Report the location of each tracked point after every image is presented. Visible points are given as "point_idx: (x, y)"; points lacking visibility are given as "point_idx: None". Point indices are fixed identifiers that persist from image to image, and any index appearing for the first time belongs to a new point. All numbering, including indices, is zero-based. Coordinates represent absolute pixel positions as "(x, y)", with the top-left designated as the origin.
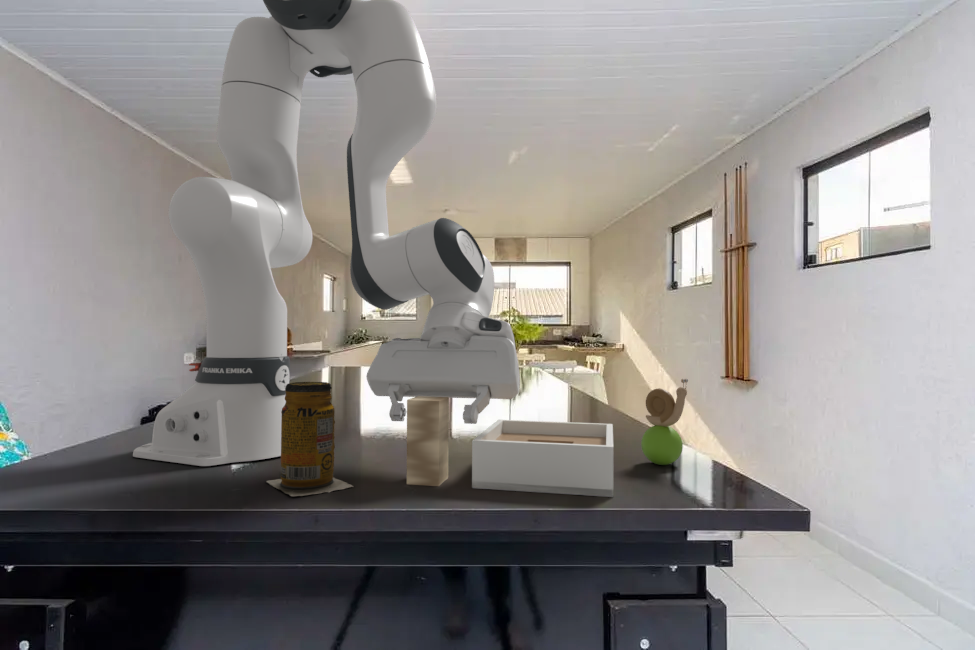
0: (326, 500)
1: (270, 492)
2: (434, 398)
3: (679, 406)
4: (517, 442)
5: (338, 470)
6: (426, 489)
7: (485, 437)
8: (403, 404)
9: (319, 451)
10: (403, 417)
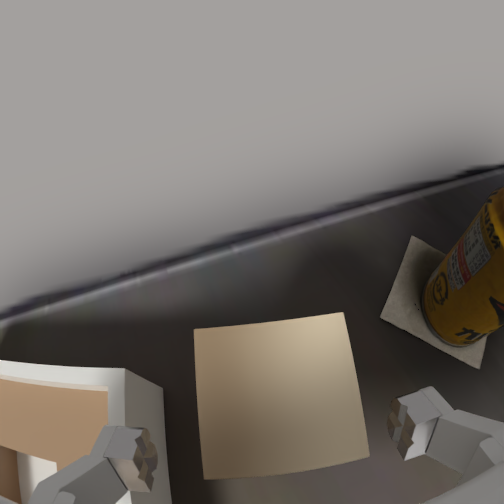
0: (367, 247)
1: None
2: (250, 407)
3: None
4: (33, 365)
5: (472, 399)
6: None
7: None
8: (413, 427)
9: (449, 258)
10: (392, 430)
